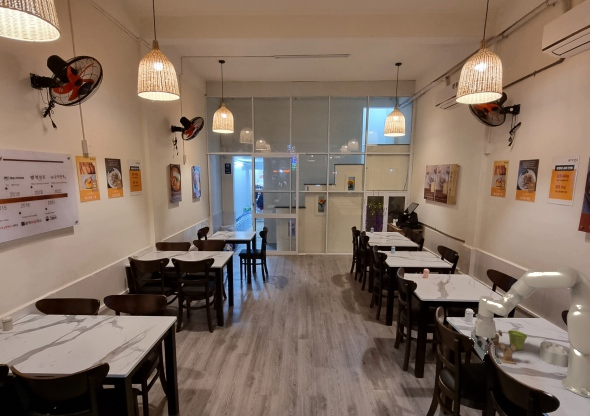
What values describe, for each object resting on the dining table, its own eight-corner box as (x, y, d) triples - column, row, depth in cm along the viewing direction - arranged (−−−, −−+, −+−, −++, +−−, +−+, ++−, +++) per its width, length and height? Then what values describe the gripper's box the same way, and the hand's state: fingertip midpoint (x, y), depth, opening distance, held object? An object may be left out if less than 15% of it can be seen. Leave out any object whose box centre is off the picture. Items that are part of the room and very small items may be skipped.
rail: (492, 353, 160) (493, 346, 160) (484, 352, 161) (485, 345, 161) (477, 338, 181) (478, 332, 181) (471, 337, 182) (471, 331, 182)
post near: (515, 364, 155) (517, 348, 154) (502, 362, 156) (503, 346, 156) (511, 359, 160) (512, 343, 159) (498, 357, 161) (499, 341, 160)
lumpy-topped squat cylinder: (544, 363, 156) (546, 348, 156) (535, 350, 168) (537, 337, 168) (568, 368, 152) (570, 353, 151) (558, 355, 164) (559, 341, 163)
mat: (501, 363, 155) (501, 362, 155) (483, 361, 157) (483, 360, 157) (483, 340, 178) (483, 339, 178) (468, 338, 181) (468, 337, 181)
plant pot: (508, 349, 169) (509, 335, 169) (505, 341, 178) (506, 328, 177) (527, 353, 165) (529, 339, 164) (523, 345, 173) (524, 332, 173)
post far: (502, 348, 170) (503, 333, 169) (490, 346, 172) (491, 332, 171) (498, 343, 175) (499, 329, 174) (487, 342, 177) (488, 328, 176)
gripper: (472, 318, 165) (470, 347, 166) (504, 322, 160) (501, 352, 162) (467, 312, 172) (465, 340, 173) (498, 316, 168) (496, 345, 169)
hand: (483, 346), depth 168 cm, fingers closed on rail, 3 cm apart
